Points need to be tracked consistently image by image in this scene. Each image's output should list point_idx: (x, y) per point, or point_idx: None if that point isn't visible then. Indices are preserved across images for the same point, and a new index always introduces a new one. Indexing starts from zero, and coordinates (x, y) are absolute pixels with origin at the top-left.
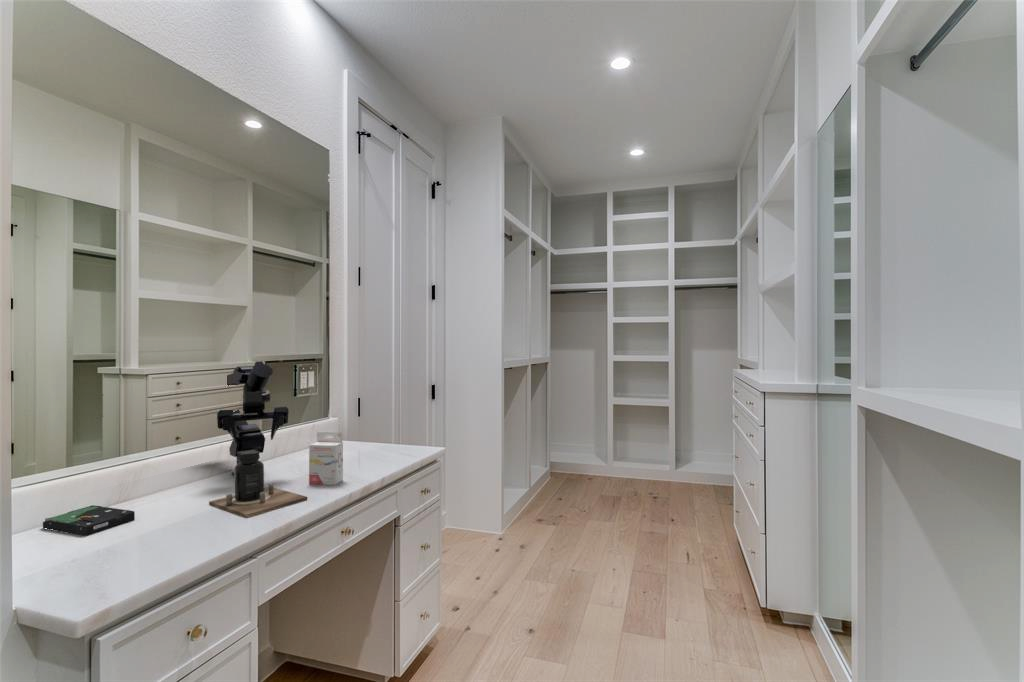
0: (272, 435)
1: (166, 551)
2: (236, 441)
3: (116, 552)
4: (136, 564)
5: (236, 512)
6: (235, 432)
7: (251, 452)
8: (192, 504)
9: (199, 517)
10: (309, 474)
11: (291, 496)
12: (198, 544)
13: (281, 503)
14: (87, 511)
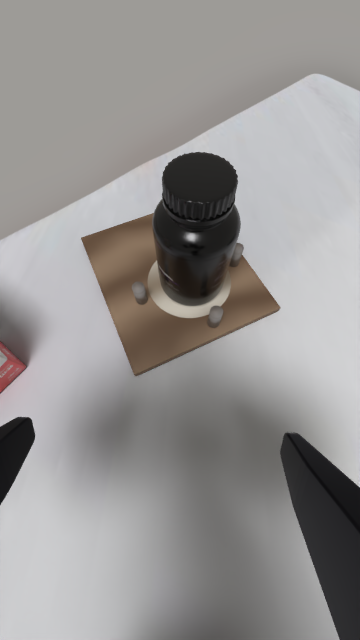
0: (4, 426)
1: (291, 143)
2: (284, 434)
3: (355, 162)
4: (313, 128)
5: None
6: (342, 503)
7: (191, 170)
8: (318, 335)
9: (279, 240)
10: (7, 356)
11: (107, 254)
12: (257, 146)
13: (136, 222)
14: None
